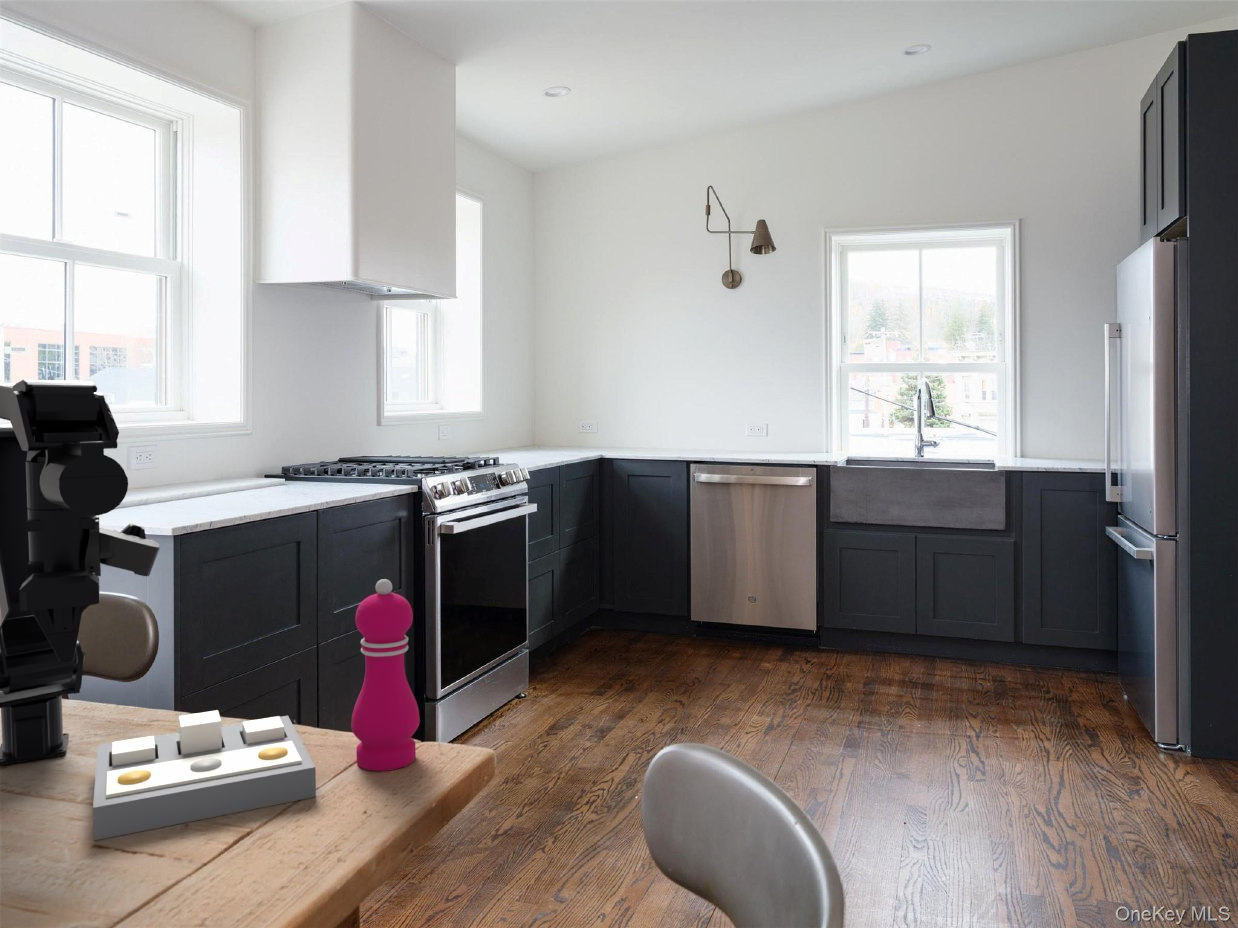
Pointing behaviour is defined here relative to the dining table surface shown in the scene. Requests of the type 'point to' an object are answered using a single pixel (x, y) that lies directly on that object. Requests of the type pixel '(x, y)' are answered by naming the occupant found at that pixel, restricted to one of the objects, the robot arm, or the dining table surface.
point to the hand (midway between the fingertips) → (67, 661)
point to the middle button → (200, 732)
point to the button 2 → (262, 730)
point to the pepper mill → (385, 684)
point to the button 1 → (133, 750)
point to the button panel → (199, 781)
